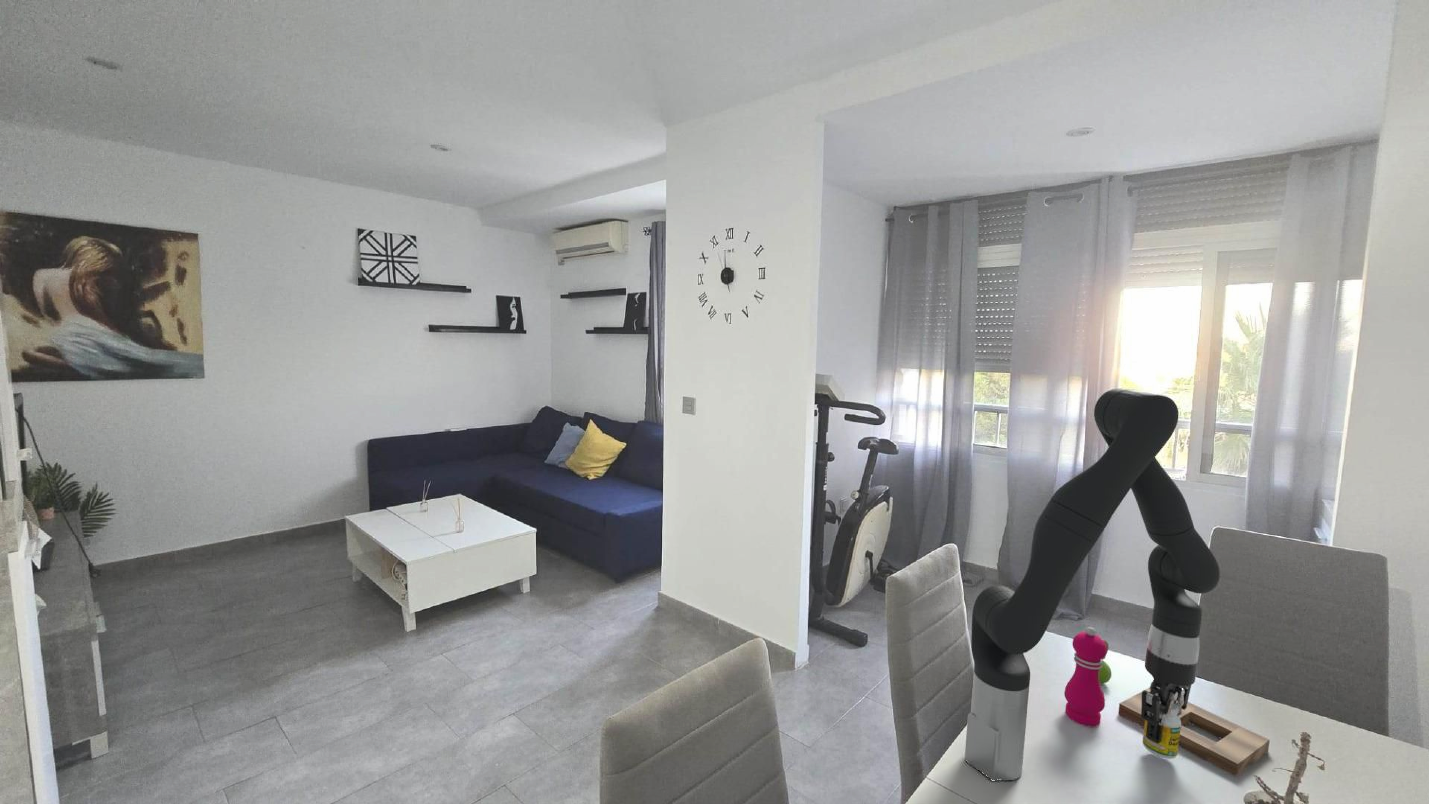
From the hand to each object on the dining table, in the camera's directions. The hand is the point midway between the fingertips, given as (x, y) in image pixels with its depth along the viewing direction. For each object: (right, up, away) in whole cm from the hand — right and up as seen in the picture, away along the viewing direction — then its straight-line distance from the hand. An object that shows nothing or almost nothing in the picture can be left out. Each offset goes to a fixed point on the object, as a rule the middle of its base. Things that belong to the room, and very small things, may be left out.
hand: (1161, 735), depth 111 cm
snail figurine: (+4, -2, +25) cm, 25 cm away
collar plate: (+12, -4, +8) cm, 15 cm away
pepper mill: (-7, -3, +12) cm, 15 cm away
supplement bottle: (0, -3, 0) cm, 3 cm away
